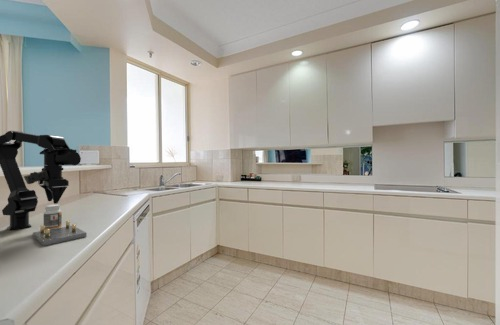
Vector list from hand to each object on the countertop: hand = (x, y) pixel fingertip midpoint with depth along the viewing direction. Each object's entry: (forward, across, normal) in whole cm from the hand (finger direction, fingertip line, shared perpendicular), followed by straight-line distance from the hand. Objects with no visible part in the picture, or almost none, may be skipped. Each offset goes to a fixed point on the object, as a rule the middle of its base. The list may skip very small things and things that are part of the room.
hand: (52, 202), depth 93 cm
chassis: (+11, +15, -1) cm, 19 cm away
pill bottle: (+11, 0, 0) cm, 11 cm away
